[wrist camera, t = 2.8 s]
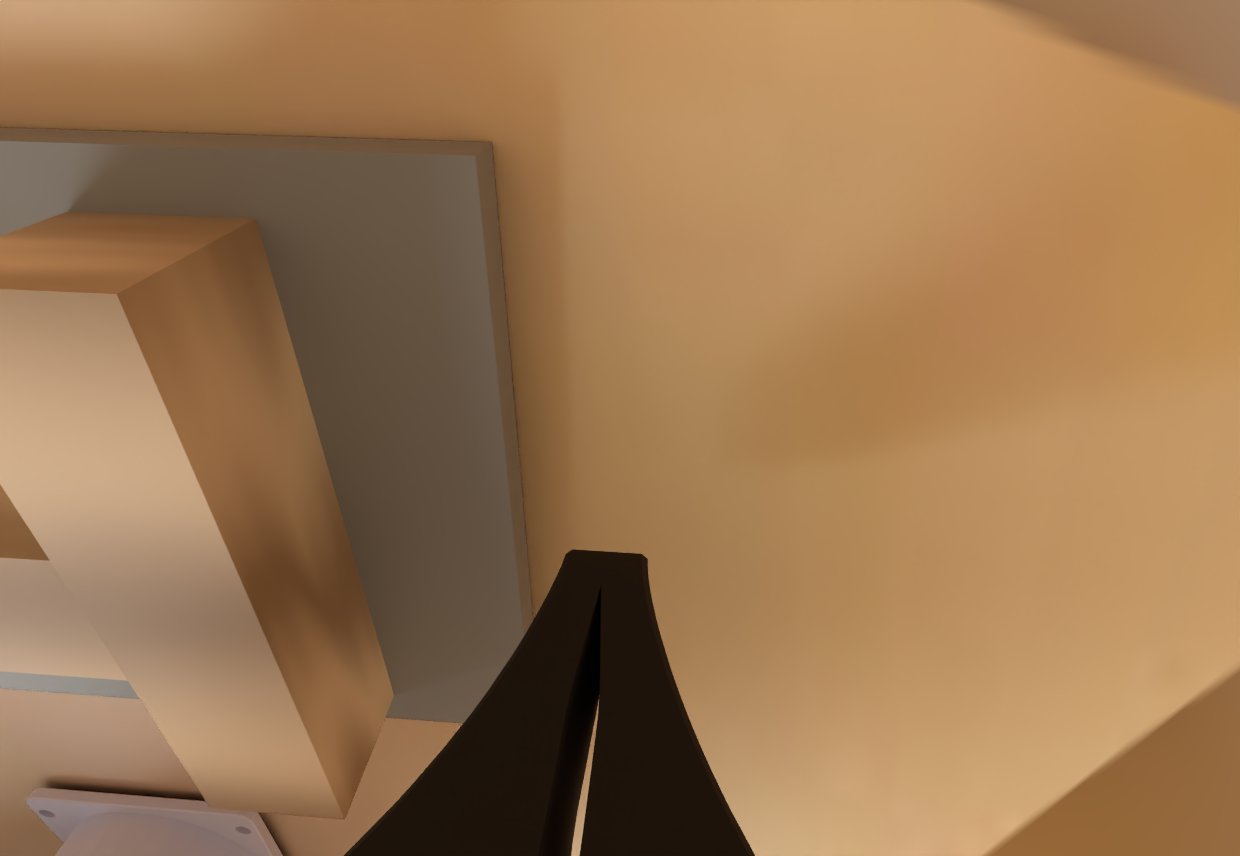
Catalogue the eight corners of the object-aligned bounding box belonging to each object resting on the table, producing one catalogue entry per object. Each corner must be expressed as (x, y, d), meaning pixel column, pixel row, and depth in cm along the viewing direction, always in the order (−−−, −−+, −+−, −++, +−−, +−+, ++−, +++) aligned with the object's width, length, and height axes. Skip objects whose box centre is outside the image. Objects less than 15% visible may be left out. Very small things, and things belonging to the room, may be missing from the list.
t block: (394, 695, 17) (344, 819, 14) (-17, 665, 17) (-135, 779, 15) (256, 218, 10) (116, 294, 8) (-408, 194, 11) (-744, 256, 8)
